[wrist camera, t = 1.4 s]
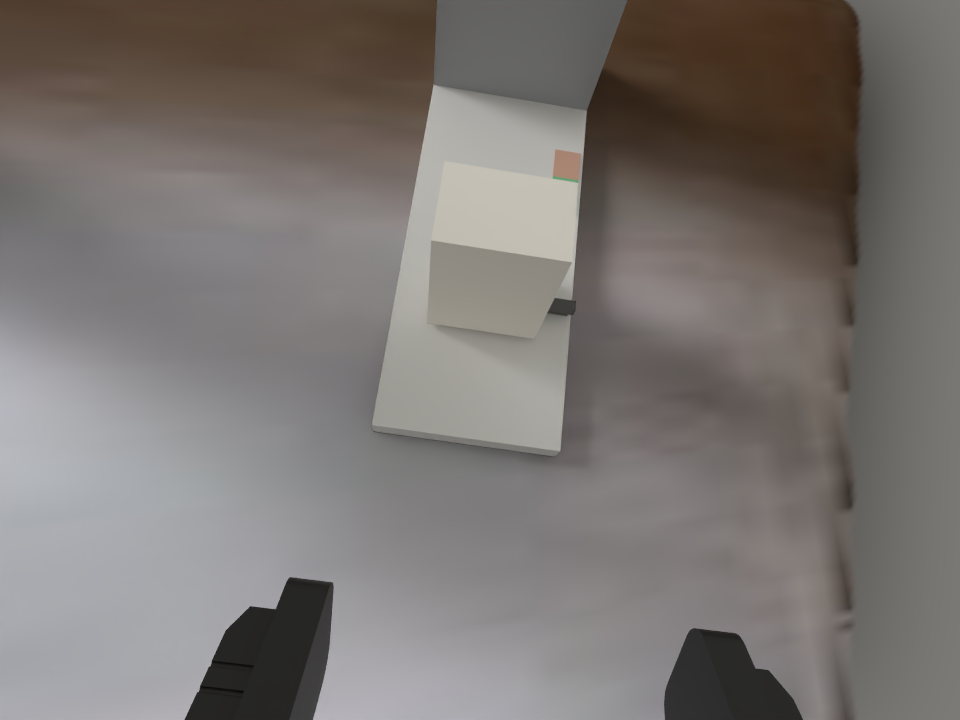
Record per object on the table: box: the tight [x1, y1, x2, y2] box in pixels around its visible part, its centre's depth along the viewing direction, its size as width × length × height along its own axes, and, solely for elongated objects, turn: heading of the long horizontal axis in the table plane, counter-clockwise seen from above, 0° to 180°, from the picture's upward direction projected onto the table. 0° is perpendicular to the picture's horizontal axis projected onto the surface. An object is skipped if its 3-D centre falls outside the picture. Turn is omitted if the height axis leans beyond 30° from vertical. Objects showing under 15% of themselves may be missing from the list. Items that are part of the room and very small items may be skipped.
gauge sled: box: [427, 161, 579, 339], centre depth 32 cm, size 8×5×9 cm, turn 83°
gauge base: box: [372, 0, 627, 456], centre depth 34 cm, size 10×28×12 cm, turn 173°
